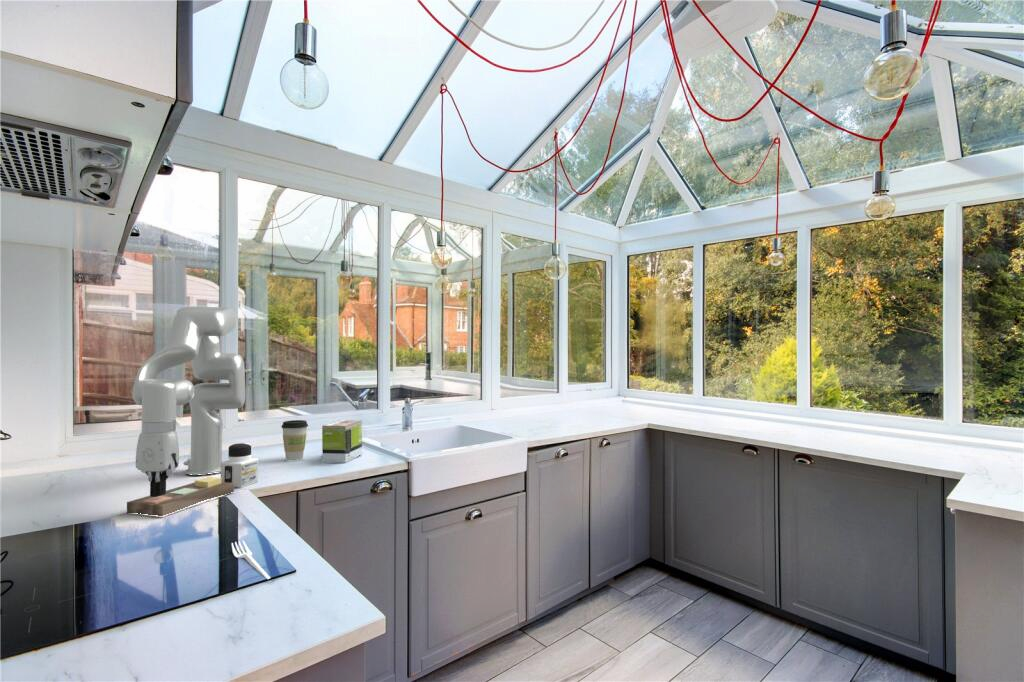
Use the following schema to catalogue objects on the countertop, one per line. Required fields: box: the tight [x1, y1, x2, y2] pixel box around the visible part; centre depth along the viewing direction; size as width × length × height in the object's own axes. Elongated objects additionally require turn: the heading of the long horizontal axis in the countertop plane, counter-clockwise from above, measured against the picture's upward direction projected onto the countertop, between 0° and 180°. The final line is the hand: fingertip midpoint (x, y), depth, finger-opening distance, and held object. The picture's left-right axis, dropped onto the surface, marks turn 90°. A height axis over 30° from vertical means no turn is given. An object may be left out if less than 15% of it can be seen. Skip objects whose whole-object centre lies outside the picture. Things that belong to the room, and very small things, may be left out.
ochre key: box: [194, 476, 221, 488], centre depth 147 cm, size 5×5×3 cm
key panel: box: [126, 481, 235, 516], centre depth 139 cm, size 12×23×3 cm, turn 165°
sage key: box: [170, 488, 198, 495], centre depth 139 cm, size 5×5×3 cm
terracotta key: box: [142, 496, 173, 504], centre depth 131 cm, size 5×5×3 cm
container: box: [220, 442, 259, 489], centre depth 158 cm, size 8×8×13 cm
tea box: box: [321, 419, 363, 464], centre depth 196 cm, size 15×10×15 cm, turn 172°
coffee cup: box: [280, 419, 309, 461], centre depth 195 cm, size 10×10×15 cm
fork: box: [231, 539, 271, 580], centre depth 100 cm, size 3×20×2 cm, turn 45°
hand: (158, 495), depth 132 cm, fingers closed
